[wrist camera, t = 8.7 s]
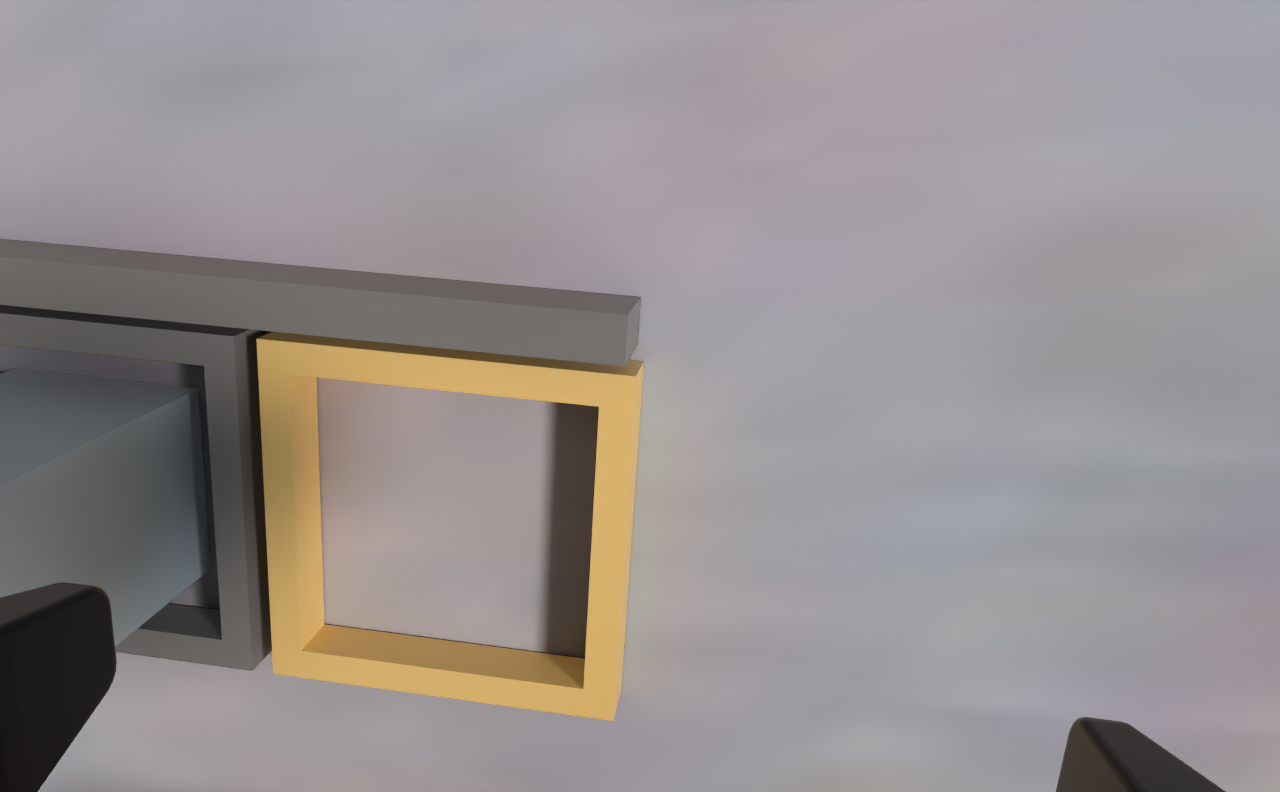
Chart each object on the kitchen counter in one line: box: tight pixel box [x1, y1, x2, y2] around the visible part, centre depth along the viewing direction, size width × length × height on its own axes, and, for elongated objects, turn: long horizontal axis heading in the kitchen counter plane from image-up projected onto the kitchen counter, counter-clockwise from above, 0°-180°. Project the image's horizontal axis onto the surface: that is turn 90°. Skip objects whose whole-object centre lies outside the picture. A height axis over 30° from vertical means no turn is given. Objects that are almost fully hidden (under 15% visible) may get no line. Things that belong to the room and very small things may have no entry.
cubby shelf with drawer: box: [0, 239, 644, 721], centre depth 22 cm, size 9×16×2 cm, turn 86°
